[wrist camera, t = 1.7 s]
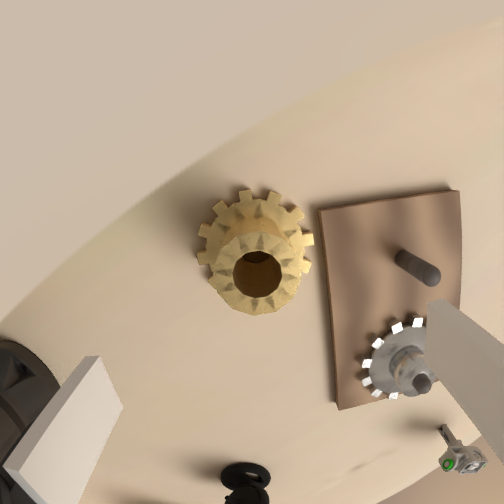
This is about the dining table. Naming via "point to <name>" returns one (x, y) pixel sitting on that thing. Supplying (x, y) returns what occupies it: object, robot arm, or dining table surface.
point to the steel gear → (396, 359)
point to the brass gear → (254, 239)
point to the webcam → (245, 484)
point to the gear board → (386, 275)
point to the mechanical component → (460, 455)
